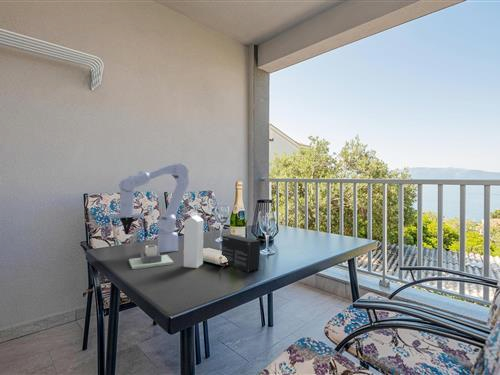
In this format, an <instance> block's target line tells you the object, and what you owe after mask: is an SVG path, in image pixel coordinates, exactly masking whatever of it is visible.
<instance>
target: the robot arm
mask: <svg viewBox="0 0 500 375" xmlns="http://www.w3.org/2000/svg"><path fill="white" fill-rule="evenodd" d="M163 175H171V176H172V177H173V178H174V179H175V181H176V186H175V188H174V190H173V192H172V195H171V197H170V200H169V202H168V204H167V208H166V210H165V212H164V213H163V214H162V215H161V216H160V217H159V219H158V220H157V222H156V228H157V229H158V232H157V252H159V253H160V254H162V253H170V252H178V251H179V235H178V234H179V233H178V232H177V231H174V230H175V229H176V221H177V218H176V216H177V213H178V210H179V207H180V205H181V204H182V201H183V198H184V196H185V193H186V191H187V188H188V186H189V182H190V181H189V169H188V167H187V165H186V164H185V163H182V162H180V163H172V164H167V165H164V166H161V167H159V168H157V169H155V170H152V171H149V172H147V171H138V173H137V174H135V175H128V177H127V178H122V179H121V180H120V182H119V184H118V187H119V189H120V195H119V197H120V198H119V199H120V201H119V213H114V214H113V213H111V214H108V219H109V220H118V219H119V220H120V222H121V224H122V228H123V230H124V234H125V235H129V232H130V231H131V230H130V229H131V226H132V224H133V222H134V219H139V218H141V219H144V218H145V214H144V213H143V212H141V213H139V212H138V213H135V212H134V211H135V207H134V206H135V205H134V204H135V192H134V190H135V189H136V188H139V187H142V186H144V185H146V184H149V183H150V182H151V180H152V179H155V178H158V177H160V176H163Z"/></svg>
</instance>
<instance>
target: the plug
mask: <svg viewBox="0 0 500 375" xmlns="http://www.w3.org/2000/svg"><path fill="white" fill-rule="evenodd" d="M144 248H145V251H144V253H145V257H149V256H157V252H158V251H157V248H158V245H156V244H153V245H152V244H149V245H145V246H144Z"/></svg>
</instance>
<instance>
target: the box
mask: <svg viewBox="0 0 500 375" xmlns="http://www.w3.org/2000/svg"><path fill="white" fill-rule="evenodd" d="M221 237H222V238H221V255H223V256H225V257H226V258H227V260H228V265H227V266H230V267H232V268H235V269H238V270H241V271H244V272H246V271H247V273H250V272H249V271H251V272H253V271H252V270H254V271H256V270H255V269H258V268H259V269H260V250H261V240H258V239H254V238H250V237H244V236H240V235H235V234H225V235H221ZM259 269H258V270H259Z"/></svg>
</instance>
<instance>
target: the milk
mask: <svg viewBox="0 0 500 375" xmlns="http://www.w3.org/2000/svg"><path fill="white" fill-rule="evenodd" d="M204 221H205V220H204V219H203V218H202V217H201V216H199V215H198V211H195V212H191V214H190V217H189V218H187V219H185V220H184V221H183V222H184V223H183V226H184V227H183V267H185V268H193V269H198V268H199V267H201V266H202V265H203V264H204V223H205V222H204Z"/></svg>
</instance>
